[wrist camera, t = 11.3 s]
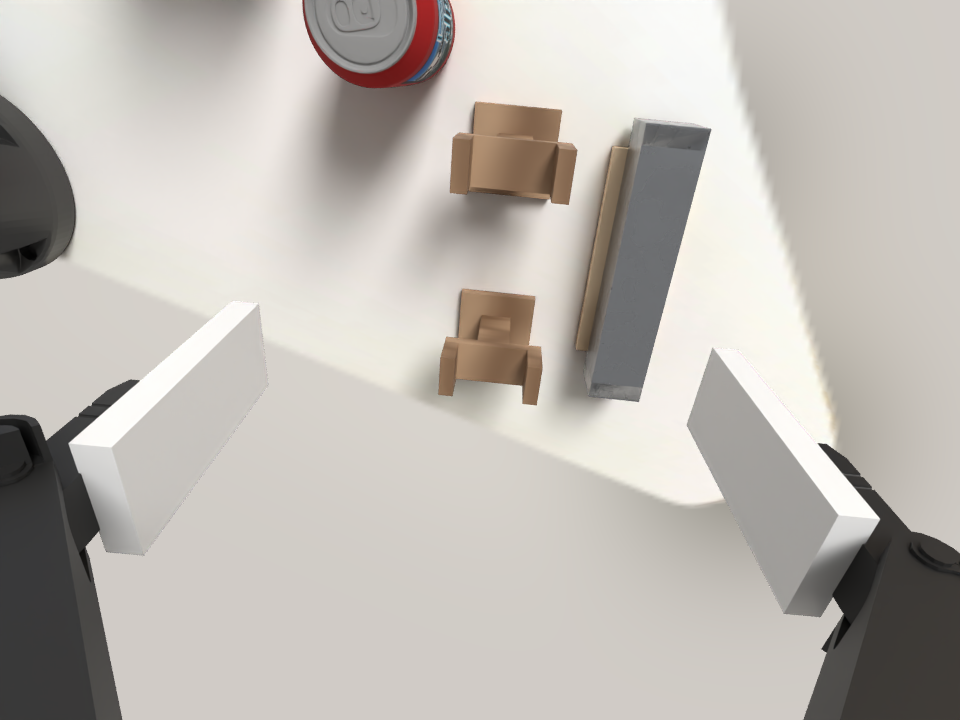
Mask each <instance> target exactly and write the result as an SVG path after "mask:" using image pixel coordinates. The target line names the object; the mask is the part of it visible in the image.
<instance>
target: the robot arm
mask: <svg viewBox="0 0 960 720" xmlns="http://www.w3.org/2000/svg"><path fill="white" fill-rule="evenodd" d="M74 220H75V209H74V200H73V195H72V190H71V187H70V183H69V180H68V178H67V175H66V173H65V170H64V168H63V166H62V164H61V162H60V160H59V158H58V156H57V155H56V153H55V151H54V150H53V148H52V147H51V145H50V144H49V142H48V141H47V139H46V138H45V137H44V135H43V134H42V133H41V132H40V130H39V129H38V128H37V127H36V126H35V125H34V124H33V123H32V122H31V120H30V119H29V118H28V117H27V116H26V115H24V114H23V113H22V112H21V111H20V110H19V109H18V108H17V107H15V106H14V105H13V104H12V103H11V102H9V101H8V100H7V99H5V98H4V97H2V96H1V95H0V279H3V278H11V277H16V276H20V275H23V274H26V273H28V272H31V271H33V270H36V269H38V268H41V267H43V266H45V265H47V264H49V263H51V262H53V261H54V260H55V259H56V258H58V257H59V256H60V255H61V254H62V252H63V251H64V250H65V248H66V247H67V245H68V243H69V241H70V238H71V236H72V232H73V228H74ZM265 361H266V360H265V352H264V343H263V335H262V326H261V317H260V309H259V303H249V302H239V301H231V302H230V303H229V304H228V305H227V306H226V307H224V308H223V309H222V310H221V311H220V312H219V313H218V314H216V315H215V316H214V317H213V318H212V319H211V320H210V321H208V322H207V323H206V324H205V325H204V326H203V327H202V328H200V329H199V330H198V331H197V332H196V333H195V334H193V335H192V336H191V337H190V338H189V339H188V340H187V341H185V342H184V343H183V344H182V345H181V346H180V347H179V348H177V349H176V350H175V351H174V352H173V353H172V354H171V355H169V356H168V357H167V358H166V359H165V360H164V361H163V362H161V363H160V364H159V365H158V366H157V367H156V368H154V369H153V370H152V371H151V372H150V373H149V374H148V375H146V376H145V377H144V378H143V379H142V380H141V381H140V380H128V381H126V382H124V383H122V384H120V385H118V386H116V387H113V388H111V389H109V390H107V391H106V392H105V393H104V394H102V395H101V396H100V397H99V398H98V399H96V400H95V401H94V402H93V403H92V406H88V407H87V408H86V409H84V410H83V411H82V412H81V413H79V416H78V417H74V418H73V419H72V420H71V421H70V422H68V423H67V424H66V425H65V426H64V427H62V428H61V429H60V430H59V431H58V432H56V433H55V434H54V435H53V436H51V437H50V438H49V439H48V440H47V441H46V440H45V437H44V434H43V432H42V429H41V426H40V424H39V423H38V421H37V420H36V419H35V418H32V417H29V416H26V415H5V416H0V720H122V716H121V711H120V706H119V701H118V696H117V691H116V686H115V681H114V676H113V671H112V666H111V661H110V657H109V652H108V647H107V642H106V637H105V632H104V627H103V622H102V617H101V612H100V607H99V602H98V597H97V593H96V588H95V583H94V578H93V573H92V568H91V563H90V558H89V555H88V553H87V550H86V547H85V546H86V545H87V544H88V543H89V542H90V541H91V540H92V538H93V537H94V536H95V535H96V534H97V533H98V531H99V533H100V536H101V538H102V542H103V545H104V548H105V550H106V552H112V553H122V554H133V555H145V553H146V552H147V551H148V549H149V548H150V547H151V545H152V544H153V542H154V541H155V539H156V538H157V537H158V535H159V534H160V533H161V532H162V530H163V529H164V527H165V526H166V524H167V523H168V522H169V521H170V519H171V518H172V516H173V515H174V514H175V512H176V511H177V510H178V508H179V507H180V505H181V504H182V503H183V501H184V500H185V499H186V497H187V496H188V495H189V493H190V492H191V490H192V489H193V488H194V486H195V485H196V484H197V482H198V481H199V480H200V478H201V477H202V475H203V474H204V472H205V471H206V470H207V469H208V467H209V466H210V464H211V463H212V462H213V460H214V459H215V458H216V456H217V455H218V454H219V452H220V451H221V449H222V448H223V447H224V445H225V444H226V443H227V441H228V440H229V438H230V437H231V436H232V434H233V433H234V432H235V430H236V429H237V428H238V426H239V425H240V423H241V422H242V421H243V419H244V418H245V417H246V415H247V414H248V412H249V411H250V410H251V408H252V407H253V406H254V404H255V403H256V402H257V400H258V399H259V397H260V396H261V395H262V393H263V392H264V391H265V389H266V388H267V387H268V378H267V369H266V362H265ZM687 427H688V429H689V431H690V432H691V434H692V436H693V438H694V440H695V442H696V444H697V446H698V448H699V450H700V452H701V454H702V456H703V458H704V460H705V462H706V464H707V466H708V467H709V469H710V471H711V473H712V475H713V477H714V479H715V481H716V483H717V485H718V487H719V489H720V491H721V493H722V495H723V497H724V499H725V500H726V502H727V504H728V506H729V508H730V510H731V512H732V514H733V516H734V518H735V520H736V522H737V524H738V526H739V528H740V530H741V531H742V533H743V535H744V537H745V539H746V541H747V543H748V545H749V547H750V549H751V551H752V553H753V555H754V557H755V559H756V561H757V562H758V564H759V566H760V568H761V570H762V572H763V574H764V576H765V578H766V580H767V582H768V584H769V586H770V588H771V590H772V592H773V594H774V596H775V598H776V599H777V601H778V603H779V605H780V607H781V609H782V611H783V613H784V614H792V615H803V616H815V617H821V616H822V614H823V612H824V611H825V609H826V607H827V606H828V604H829V603H830V601H831V599H832V598H833V597H834V599H835V601H836V602H837V604H838V605H839V607H840V609H841V610H842V612H843V613H844V614H843V616H842V617H841V619H840V621H839V622H838V624H837V625H836V627H835V628H834V630H833V632H832V633H831V635H830V637H829V638H828V639H827V641H826V642H825V644H824V646H823V647H822V650H823V651H825V652H827V654H826V657H825V660H824V662H823V665H822V668H821V671H820V674H819V677H818V679H817V682H816V685H815V688H814V691H813V694H812V697H811V700H810V703H809V705H808V709H807V711H806V714H805V717H804V720H960V553H958V552H957V551H956V550H955V549H954V548H952V547H950V546H948V545H947V544H945V543H943V542H941V541H940V540H938V539H935V538H933V537H930V536H927V535H924V534H922V533H917V532H911V531H910V530H909V529H908V528H907V526H906V525H905V524H904V523H903V522H902V521H901V520H900V519H899V517H898V516H897V515H896V514H895V513H894V512H893V511H892V509H891V508H890V507H889V506H888V505H887V504H886V503H885V502H884V501H883V499H882V498H881V497H880V496H879V495H878V494H877V492H876V491H875V490H872V487H871V486H870V484H869V483H868V482H867V481H866V480H865V479H864V478H863V477H860V473H859V472H858V471H857V470H856V468H855V467H854V466H853V465H852V464H851V463H850V462H849V461H848V459H847V458H845V457H844V456H842V455H841V454H840V453H838V452H837V451H835V450H834V449H833V448H831V447H830V446H828V445H827V444H820V443H816V442H815V440H814V439H813V438H812V437H811V436H810V434H809V433H808V432H807V431H806V430H805V428H804V427H803V426H802V425H801V424H800V422H799V421H798V420H797V419H796V418H795V416H794V415H793V414H792V413H791V412H790V410H789V409H788V408H787V407H786V406H785V404H784V403H783V402H782V401H781V400H780V398H779V397H778V396H777V395H776V394H775V392H774V391H773V390H772V389H771V388H770V386H769V385H768V384H767V383H766V382H765V380H764V379H763V378H762V377H761V376H760V374H759V373H758V372H757V371H756V370H755V369H754V367H753V366H752V365H751V364H750V363H749V361H748V360H747V359H746V358H745V357H744V355H743V354H742V353H741V352H740V351H739V350H735V349H724V348H714V347H713V348H712V351H711V354H710V357H709V360H708V363H707V366H706V369H705V372H704V375H703V378H702V381H701V384H700V387H699V390H698V393H697V396H696V399H695V402H694V405H693V408H692V411H691V414H690V417H689V420H688V423H687Z"/></svg>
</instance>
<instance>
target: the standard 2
mask: <svg viewBox="0 0 960 720" xmlns="http://www.w3.org/2000/svg"><path fill="white" fill-rule="evenodd" d="M561 115H562V110H557V109H547V108H537V107H526V106H516V105H506V104H495V103H485V102H475V115H474V128H473V134H470V133H458V134H457V135H456V136H455V137H453V144H452V161H451V179H450V193H456V194H466V195H467V193H468V190H469V191H470V192H480V193H490V194H500V195H510V196H520V197H530V198H540V199H550V198H551V203H556V204H566V205H569V199H570V193H571V187H572V181H573V174H574V168H575V162H576V156H577V149H576V148H575V146H574V145H573V144H572V143H561V142H558V136H559V129H560V122H561Z"/></svg>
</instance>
